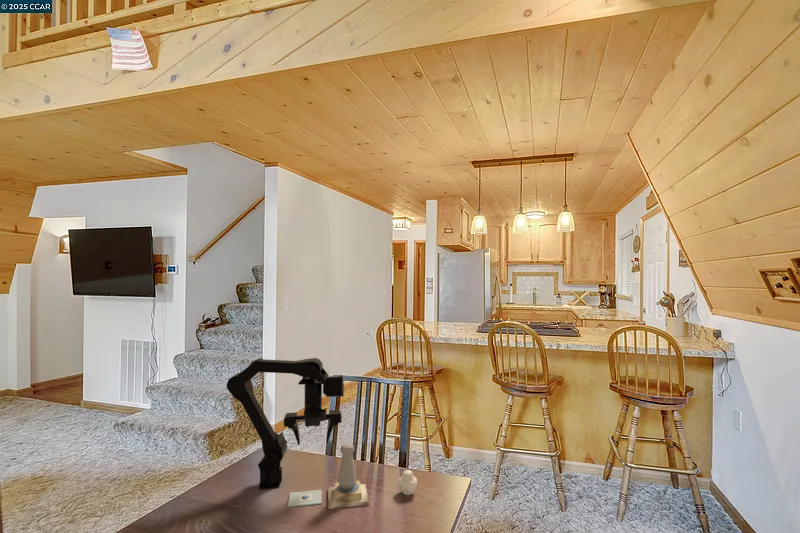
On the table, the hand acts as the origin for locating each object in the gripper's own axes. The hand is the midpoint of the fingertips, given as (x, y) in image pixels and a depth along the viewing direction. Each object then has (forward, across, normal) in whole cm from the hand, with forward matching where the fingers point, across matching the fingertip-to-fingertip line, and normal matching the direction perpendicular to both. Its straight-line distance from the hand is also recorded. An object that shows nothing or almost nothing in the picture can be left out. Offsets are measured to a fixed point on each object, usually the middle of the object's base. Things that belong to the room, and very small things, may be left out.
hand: (313, 443), depth 141 cm
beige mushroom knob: (+10, +11, -11) cm, 19 cm away
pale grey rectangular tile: (+13, -2, -10) cm, 17 cm away
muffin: (+13, +30, -12) cm, 35 cm away
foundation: (+13, +11, -12) cm, 21 cm away
